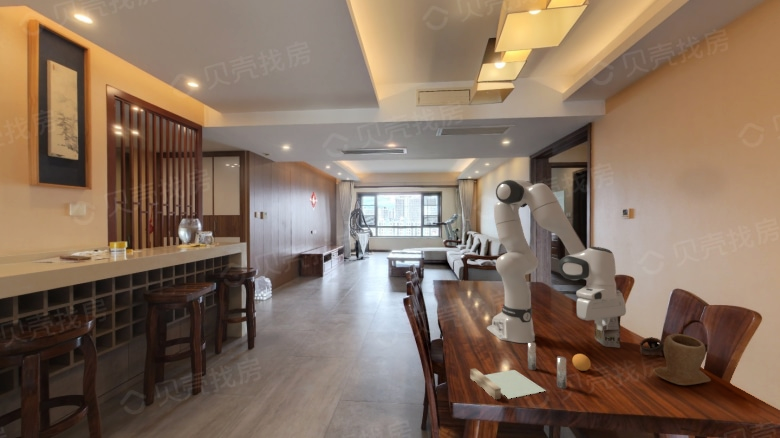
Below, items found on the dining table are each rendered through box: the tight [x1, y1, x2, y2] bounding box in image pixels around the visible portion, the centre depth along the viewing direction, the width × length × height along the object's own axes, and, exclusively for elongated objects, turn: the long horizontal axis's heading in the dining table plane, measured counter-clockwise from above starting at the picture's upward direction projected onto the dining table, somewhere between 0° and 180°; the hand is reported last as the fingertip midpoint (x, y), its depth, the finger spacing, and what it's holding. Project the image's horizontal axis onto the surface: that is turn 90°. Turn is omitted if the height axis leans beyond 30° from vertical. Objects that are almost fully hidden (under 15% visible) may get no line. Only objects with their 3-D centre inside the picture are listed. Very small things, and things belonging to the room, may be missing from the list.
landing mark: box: [483, 369, 547, 400], centre depth 98 cm, size 14×14×1 cm
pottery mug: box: [639, 336, 664, 357], centre depth 120 cm, size 12×10×8 cm
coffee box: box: [594, 316, 621, 349], centre depth 132 cm, size 9×6×16 cm
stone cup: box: [652, 333, 712, 386], centre depth 100 cm, size 15×12×15 cm
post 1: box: [527, 341, 537, 371], centre depth 109 cm, size 3×3×9 cm
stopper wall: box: [469, 368, 502, 400], centre depth 96 cm, size 13×2×3 cm, turn 18°
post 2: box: [556, 356, 567, 390], centre depth 97 cm, size 3×3×9 cm
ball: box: [572, 353, 591, 372], centre depth 108 cm, size 6×6×6 cm
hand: (602, 329), depth 110 cm, fingers closed
